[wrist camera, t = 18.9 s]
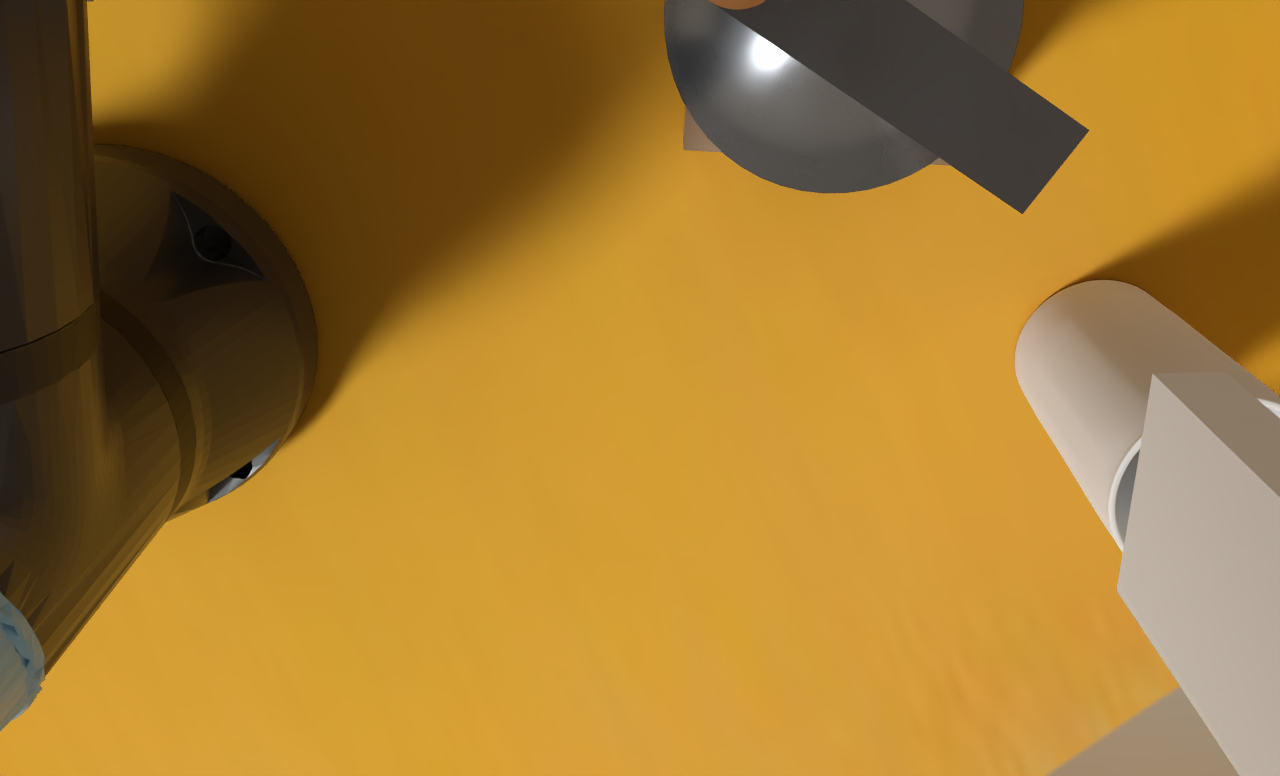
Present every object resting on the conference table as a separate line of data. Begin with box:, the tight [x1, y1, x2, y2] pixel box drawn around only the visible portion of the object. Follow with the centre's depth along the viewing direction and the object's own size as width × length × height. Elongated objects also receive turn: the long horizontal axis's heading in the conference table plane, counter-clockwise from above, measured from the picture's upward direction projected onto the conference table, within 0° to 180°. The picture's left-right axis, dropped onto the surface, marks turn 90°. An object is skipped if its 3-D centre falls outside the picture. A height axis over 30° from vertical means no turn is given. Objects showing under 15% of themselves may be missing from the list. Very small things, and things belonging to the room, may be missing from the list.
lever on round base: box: [664, 0, 1089, 214], centre depth 33 cm, size 12×12×13 cm
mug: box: [1015, 280, 1280, 552], centre depth 42 cm, size 10×7×12 cm, turn 31°
